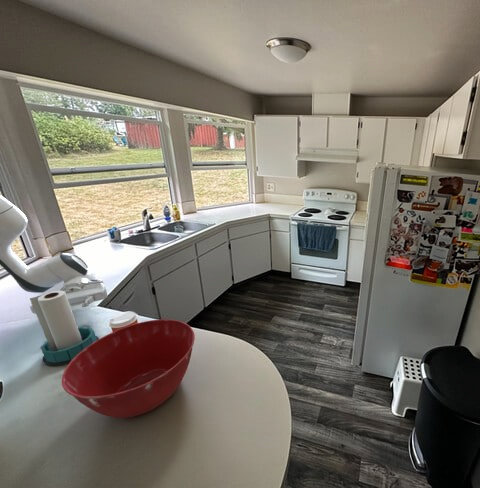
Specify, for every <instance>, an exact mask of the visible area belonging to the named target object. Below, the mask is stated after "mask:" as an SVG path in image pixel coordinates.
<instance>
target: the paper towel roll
mask: <svg viewBox="0 0 480 488" xmlns="http://www.w3.org/2000/svg"><path fill="white" fill-rule="evenodd" d="M29 300H30V302H31V303H32V305H33V308H34V310H35V313H36V314H35V315H36V318H37V320H38V322H39V324H40V326H41V330H42V332H43V334H44V336H45V339H46V341H48V344H49V346H50V349H51V351H57V350H63V349H67V348H70V347H72V346H74V345H77V344H79V343H81V342H82V338H81V335H80V332H79V330H78V327H79V326H78V324H77V322H76V319H75V316H74V312H73V311H72V306H71V307H70V304H69V302H68V299H67V296H66V293H65V292H64V291H60V290H54V291H50V292H45V293H42V294H39V295H36V296H33V297H29ZM31 303H30V304H31Z"/></svg>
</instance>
